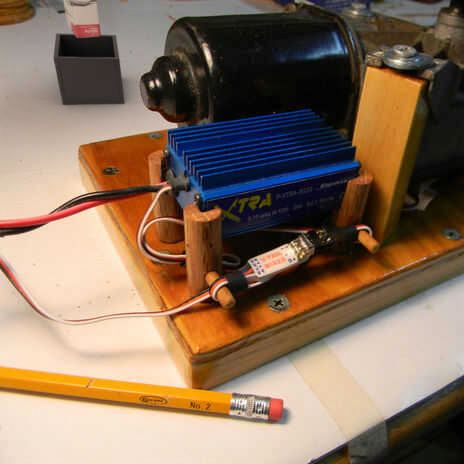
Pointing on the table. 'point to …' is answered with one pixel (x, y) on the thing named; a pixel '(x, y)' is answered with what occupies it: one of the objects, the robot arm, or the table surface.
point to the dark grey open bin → (88, 69)
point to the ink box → (82, 17)
